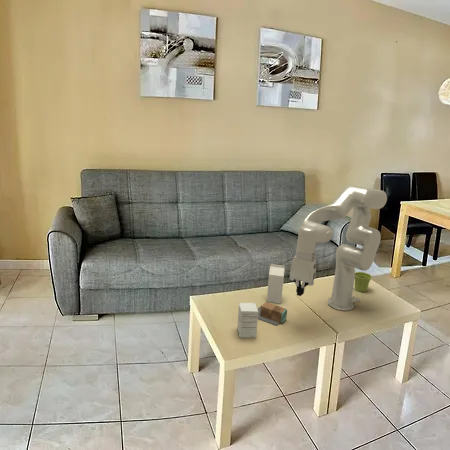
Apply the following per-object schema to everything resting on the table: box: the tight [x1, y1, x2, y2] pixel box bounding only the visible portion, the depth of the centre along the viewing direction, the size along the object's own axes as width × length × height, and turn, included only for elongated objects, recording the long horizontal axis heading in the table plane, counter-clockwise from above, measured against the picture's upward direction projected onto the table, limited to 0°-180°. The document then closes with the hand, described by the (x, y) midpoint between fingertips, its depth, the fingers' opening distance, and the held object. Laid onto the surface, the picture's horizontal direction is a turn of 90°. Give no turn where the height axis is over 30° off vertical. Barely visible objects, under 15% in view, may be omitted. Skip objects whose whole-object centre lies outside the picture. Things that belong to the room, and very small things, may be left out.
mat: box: [257, 306, 280, 327], centre depth 180 cm, size 14×10×1 cm
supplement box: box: [236, 302, 259, 339], centre depth 164 cm, size 7×7×13 cm
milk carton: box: [266, 263, 286, 304], centre depth 194 cm, size 7×7×19 cm
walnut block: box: [260, 301, 288, 324], centre depth 178 cm, size 5×5×11 cm
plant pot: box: [354, 271, 373, 293], centre depth 212 cm, size 9×9×9 cm
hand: (299, 294), depth 168 cm, fingers closed
